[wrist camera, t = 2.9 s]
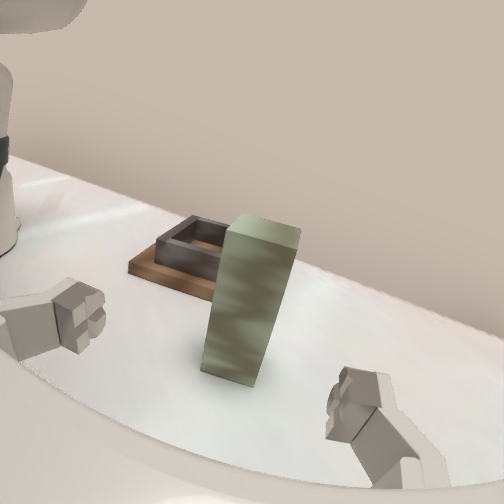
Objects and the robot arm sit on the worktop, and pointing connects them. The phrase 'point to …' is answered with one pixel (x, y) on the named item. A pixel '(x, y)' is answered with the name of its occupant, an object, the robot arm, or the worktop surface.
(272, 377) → the worktop surface
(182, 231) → the display stand
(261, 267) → the green peg
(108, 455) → the robot arm
